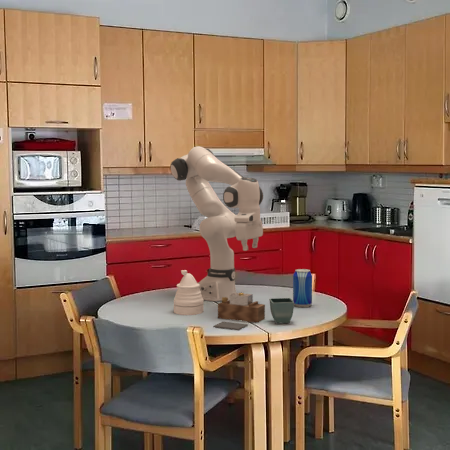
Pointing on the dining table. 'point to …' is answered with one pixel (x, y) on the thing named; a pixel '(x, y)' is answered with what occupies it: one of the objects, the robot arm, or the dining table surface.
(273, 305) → the flower pot
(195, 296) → the honey pot
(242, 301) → the lever cap
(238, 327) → the mat
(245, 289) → the dining table surface
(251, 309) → the body
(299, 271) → the beer can
